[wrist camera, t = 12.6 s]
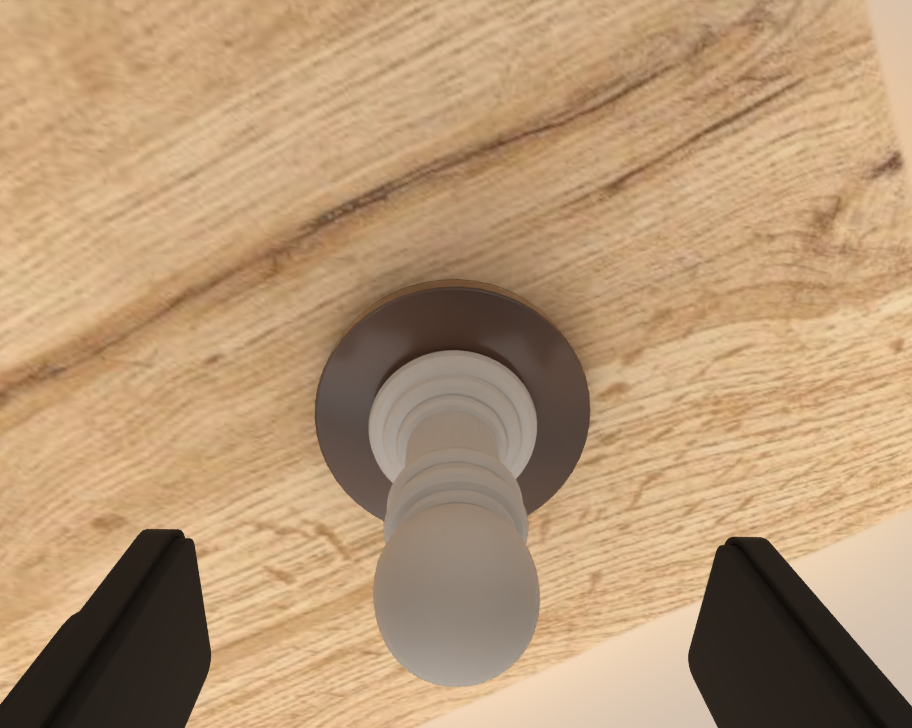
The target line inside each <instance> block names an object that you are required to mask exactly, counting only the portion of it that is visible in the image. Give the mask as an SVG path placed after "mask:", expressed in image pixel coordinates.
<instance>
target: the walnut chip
mask: <svg viewBox="0 0 912 728" xmlns="http://www.w3.org/2000/svg"><path fill="white" fill-rule="evenodd" d="M446 350H460V351H469V352H474V353H478V354H481V355H484V356H487V357H489V358H491V359H493V360H495V361H497V362H499V363H501V364H502V365H504V366H505V367H507V368H508V369H509V370H510V371H512V372H513V373H514V374H515V375H516V376H517V377H518V378H519V379H520V381H521V382H522V383H523V384H524V386H525V387H526V389H527V391H528V392H529V394H530V396H531V399H532V401H533V403H534V407H535V411H536V417H537V435H536V441H535V446H534V449H533V452H532V455H531V457H530V459H529V461H528V463H527V465H526V466H525V468H524V470H523V471H522V472H521V474H520V475H519V476H518V477H517V478H516V481H517V483H518V485H519V487H520V490H521V493H522V500H523V505H524V507H525V510H526V513H527V516H528V515H529V514H531V513H532V512H534V511H535V510H537V509H538V508H540V507H541V506H542V505H543V504H544V503H546V502H547V501H548V500H549V499H550V498H551V497H553V495H554V494H555V493H556V492H557V491H558V490H559V489H560V488H561V487H562V486H563V484H564V483H565V482H566V480H567V479H568V477H569V476H570V474H571V473H572V472H573V470H574V468H575V466H576V464H577V462H578V460H579V458H580V456H581V453H582V451H583V448H584V445H585V442H586V438H587V434H588V429H589V421H590V398H589V390H588V386H587V381H586V377H585V374H584V372H583V369H582V366H581V364H580V361H579V359H578V358H577V356H576V354H575V352H574V350H573V349H572V347H571V345H570V344H569V343H568V341H567V340H566V339H565V337H564V336H563V335H562V333H561V332H560V331H559V329H558V328H557V327H556V325H555V324H554V323H553V322H552V321H551V320H550V319H549V318H548V317H547V316H546V315H545V314H544V313H543V312H542V311H541V310H539V309H538V308H537V307H535V306H534V305H532V304H531V303H530V302H528V301H527V300H525V299H523V298H521V297H520V296H518V295H516V294H514V293H512V292H510V291H507V290H505V289H502V288H499V287H497V286H494V285H490V284H485V283H481V282H477V281H467V280H438V281H432V282H425V283H420V284H417V285H414V286H410V287H407V288H404V289H402V290H399V291H397V292H395V293H393V294H390V295H388V296H386V297H385V298H383V299H381V300H380V301H378V302H377V303H375V304H373V305H372V306H371V307H369V308H368V309H367V310H366V311H364V312H363V313H362V314H361V315H360V316H358V318H357V319H356V320H355V321H354V322H353V323H352V324H351V325H350V326H349V327H348V328H347V330H346V331H345V332H344V334H343V335H342V337H341V338H340V340H339V341H338V342H337V344H336V346H335V348H334V349H333V351H332V353H331V355H330V357H329V359H328V361H327V363H326V365H325V367H324V369H323V372H322V375H321V378H320V381H319V384H318V389H317V395H316V400H315V424H316V433H317V437H318V441H319V445H320V449H321V452H322V454H323V456H324V459H325V461H326V463H327V466H328V467H329V469H330V471H331V472H332V474H333V476H334V477H335V479H336V480H337V482H338V483H339V484H340V485H341V487H342V488H343V489H344V491H345V492H346V493H347V494H348V495H349V496H350V497H351V498H352V499H353V500H354V501H355V502H356V503H357V504H359V505H360V506H361V507H363V508H364V509H365V510H367V511H368V512H369V513H371V514H373V515H374V516H376V517H378V518H379V519H381V520H383V521H384V520H385V516H386V513H387V500H388V495H389V492H390V489H391V486H392V484H393V483H392V482H391V481H390V480H389V479H388V478H387V477H386V475H385V474H384V473H383V471H382V470H381V468H380V467H379V465H378V463H377V461H376V459H375V456H374V454H373V451H372V448H371V444H370V440H369V431H368V427H369V416H370V411H371V408H372V405H373V402H374V399H375V397H376V396H377V394H378V392H379V390H380V389H381V387H382V386H383V384H384V383H385V382H386V381H387V380H388V379H389V377H390V376H391V375H392V374H393V373H395V372H396V371H397V370H398V369H400V368H401V367H402V366H404V365H405V364H407V363H409V362H410V361H412V360H414V359H416V358H419V357H421V356H423V355H426V354H430V353H433V352H439V351H446Z"/></svg>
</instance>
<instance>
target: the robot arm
mask: <svg viewBox="0 0 912 728" xmlns="http://www.w3.org/2000/svg"><path fill="white" fill-rule="evenodd" d="M210 662H211V648H210V642H209V635H208V629H207V622H206V616H205V609H204V603H203V596H202V590H201V583H200V577H199V570H198V564H197V557H196V551H195V545H194V541H193V540H192V539H190V538H185V536H184V533H183V532H182V531H181V530H178V529H146V530H143V531H142V532H141V533H140V534H139V535H138V536H137V537H136V539H135V540H134V541H133V543H132V544H131V545H130V547H129V548H128V549H127V550H126V552H125V553H124V554H123V556H122V557H121V558H120V560H119V561H118V562H117V563H116V565H115V566H114V567H113V569H112V570H111V571H110V573H109V574H108V575H107V576H106V578H105V579H104V580H103V582H102V583H101V584H100V586H99V587H98V588H97V589H96V591H95V592H94V593H93V595H92V596H91V597H90V599H89V600H88V601H87V602H86V604H85V605H84V606H83V608H82V609H81V610H80V611H79V612H77V613H76V614H74V615H72V616H71V617H70V618H69V619H68V620H67V621H66V622H65V623H64V624H63V625H62V626H61V628H60V629H59V630H58V631H57V633H56V634H55V635H54V637H53V638H52V639H51V640H50V642H49V643H48V644H47V646H46V647H45V648H44V649H43V651H42V652H41V653H40V654H39V656H38V657H37V658H36V660H35V661H34V662H33V663H32V665H31V666H30V667H29V669H28V670H27V671H26V672H25V674H24V675H23V676H22V677H21V679H20V680H19V681H18V683H17V684H16V685H15V686H14V688H13V689H12V690H11V692H10V693H9V694H8V695H7V697H6V698H5V699H4V700H3V702H2V703H1V704H0V728H185V726H186V724H187V721H188V719H189V717H190V714H191V712H192V710H193V707H194V705H195V703H196V700H197V698H198V696H199V693H200V691H201V689H202V686H203V684H204V682H205V679H206V677H207V674H208V671H209V667H210ZM688 662H689V668H690V671H691V674H692V676H693V679H694V680H695V683H696V685H697V687H698V689H699V690H700V693H701V695H702V697H703V699H704V701H705V703H706V705H707V707H708V709H709V711H710V713H711V715H712V717H713V719H714V721H715V723H716V725H717V727H718V728H912V706H911V705H910V704H909V703H908V702H907V700H906V699H905V698H904V697H903V696H902V695H901V694H900V693H899V691H898V690H897V689H896V688H895V687H894V686H893V684H892V683H891V682H890V681H889V680H888V679H887V677H886V676H885V675H884V674H883V673H882V671H881V670H880V669H879V668H878V667H877V666H876V665H875V664H874V662H873V661H872V660H871V659H870V658H869V656H868V655H867V654H866V653H865V652H864V651H863V650H862V648H861V647H860V646H859V645H858V644H857V643H856V641H855V640H854V639H853V638H852V637H851V636H850V634H849V633H848V632H847V631H846V630H845V629H844V628H843V626H842V625H841V624H840V623H839V622H838V621H837V619H836V618H835V617H834V616H833V615H832V614H831V613H830V611H829V610H828V609H827V608H826V607H825V606H824V604H823V603H822V602H821V601H820V600H819V599H818V597H817V596H816V595H815V594H814V593H813V592H812V591H811V589H810V588H809V587H808V586H807V585H806V584H805V582H804V581H803V580H802V579H801V578H800V577H799V576H798V574H797V573H796V572H795V571H794V570H793V569H792V567H791V566H790V565H789V564H788V563H787V562H786V560H785V559H784V558H783V557H782V556H781V555H780V554H779V552H778V551H777V550H776V549H775V548H774V547H773V545H772V544H771V543H770V542H769V541H768V540H766V539H764V538H762V537H731V538H729V539H728V540H727V541H726V542H725V545H721V546H719V547H718V549H717V551H716V554H715V558H714V561H713V565H712V569H711V572H710V576H709V580H708V583H707V587H706V591H705V594H704V598H703V602H702V605H701V609H700V613H699V616H698V620H697V624H696V628H695V631H694V635H693V638H692V642H691V646H690V649H689V654H688Z"/></svg>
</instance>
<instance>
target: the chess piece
mask: <svg viewBox="0 0 912 728" xmlns="http://www.w3.org/2000/svg"><path fill="white" fill-rule="evenodd" d="M368 431H369V440H370V444H371V448H372V451H373V454H374V456H375V459H376V461H377V463H378V465H379V467H380V468H381V470H382V471H383V473H384V474H385V475H386V477H387V478H388V479H389V480H390V481H391V482H392V483H393V484H392V486H391V489H390V492H389V495H388V500H387V513H386V516H385V520H384V539H385V543H386V545H385V547H384V549H383V551H382V553H381V555H380V558H379V561H378V564H377V567H376V572H375V577H374V588H373V598H374V609H375V615H376V619H377V623H378V627H379V630H380V632H381V635H382V637H383V640H384V642H385V644H386V645H387V647H388V649H389V650H390V652H391V653H392V655H393V656H394V657H395V659H396V660H397V661H398V662H399V663H400V664H401V665H402V666H403V667H404V668H405V669H406V670H408V671H409V672H410V673H412V674H413V675H415V676H417V677H418V678H420V679H422V680H424V681H427V682H430V683H433V684H436V685H441V686H447V687H467V686H473V685H477V684H480V683H483V682H486V681H488V680H491V679H493V678H495V677H497V676H498V675H500V674H501V673H503V672H504V671H506V670H507V669H508V668H510V667H511V666H512V665H513V664H514V663H515V662H516V661H517V660H518V659H519V658H520V657H521V655H522V654H523V653H524V651H525V650H526V648H527V646H528V645H529V643H530V641H531V639H532V636H533V634H534V631H535V628H536V624H537V620H538V615H539V606H540V591H539V582H538V576H537V572H536V568H535V565H534V562H533V559H532V556H531V554H530V552H529V550H528V548H527V546H526V542H527V536H528V517H527V513H526V510H525V507H524V505H523V500H522V493H521V490H520V487H519V485H518V483H517V481H516V478H517V477H518V476H519V475H520V474H521V472H522V471H523V470H524V468H525V466H526V465H527V463H528V461H529V459H530V457H531V455H532V452H533V449H534V446H535V441H536V435H537V417H536V411H535V407H534V403H533V401H532V399H531V396H530V394H529V392H528V391H527V389H526V387H525V386H524V384H523V383H522V382H521V381H520V379H519V378H518V377H517V376H516V375H515V374H514V373H513V372H512V371H510V370H509V369H508V368H507V367H505V366H504V365H502V364H501V363H499V362H497V361H495V360H493V359H491V358H489V357H487V356H484V355H481V354H478V353H474V352H469V351H460V350H446V351H439V352H433V353H430V354H426V355H423V356H421V357H419V358H416V359H414V360H412V361H410V362H409V363H407V364H405V365H404V366H402V367H401V368H400V369H398V370H397V371H396V372H395V373H393V374H392V375H391V376H390V377H389V379H388V380H387V381H386V382H385V383H384V384H383V386H382V387H381V389H380V390H379V392H378V394H377V396H376V397H375V399H374V402H373V405H372V408H371V411H370V416H369V427H368Z"/></svg>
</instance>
